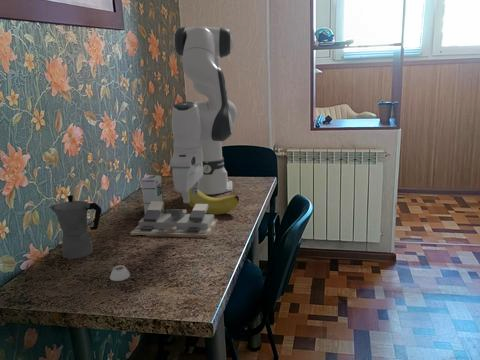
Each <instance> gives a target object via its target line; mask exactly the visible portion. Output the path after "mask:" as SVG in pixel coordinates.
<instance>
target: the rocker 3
mask: <svg viewBox="0 0 480 360" xmlns="http://www.w3.org/2000/svg"><path fill="white" fill-rule="evenodd" d="M207 209H208V204H195V206H194V208H193V207H192V210H191V213H189V214H190V216H189V220H192V221H202V220H203V218H204V216H205V214H206V211H207Z"/></svg>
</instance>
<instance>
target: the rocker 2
mask: <svg viewBox="0 0 480 360" xmlns="http://www.w3.org/2000/svg"><path fill="white" fill-rule="evenodd" d="M187 211H188V210H187V209H175V208H174V209H171V208H169V209H167V208H166V209H165V214H171V217H181V214H188V213H187Z"/></svg>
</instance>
